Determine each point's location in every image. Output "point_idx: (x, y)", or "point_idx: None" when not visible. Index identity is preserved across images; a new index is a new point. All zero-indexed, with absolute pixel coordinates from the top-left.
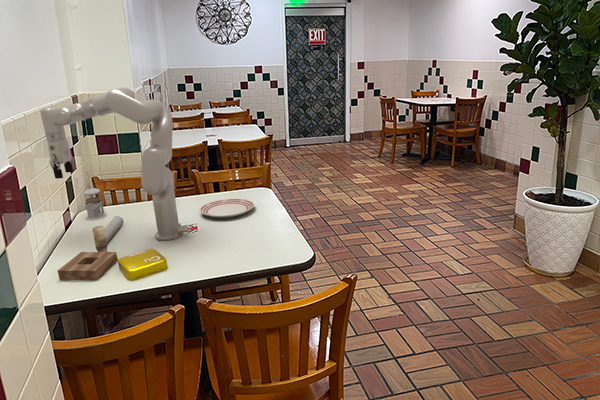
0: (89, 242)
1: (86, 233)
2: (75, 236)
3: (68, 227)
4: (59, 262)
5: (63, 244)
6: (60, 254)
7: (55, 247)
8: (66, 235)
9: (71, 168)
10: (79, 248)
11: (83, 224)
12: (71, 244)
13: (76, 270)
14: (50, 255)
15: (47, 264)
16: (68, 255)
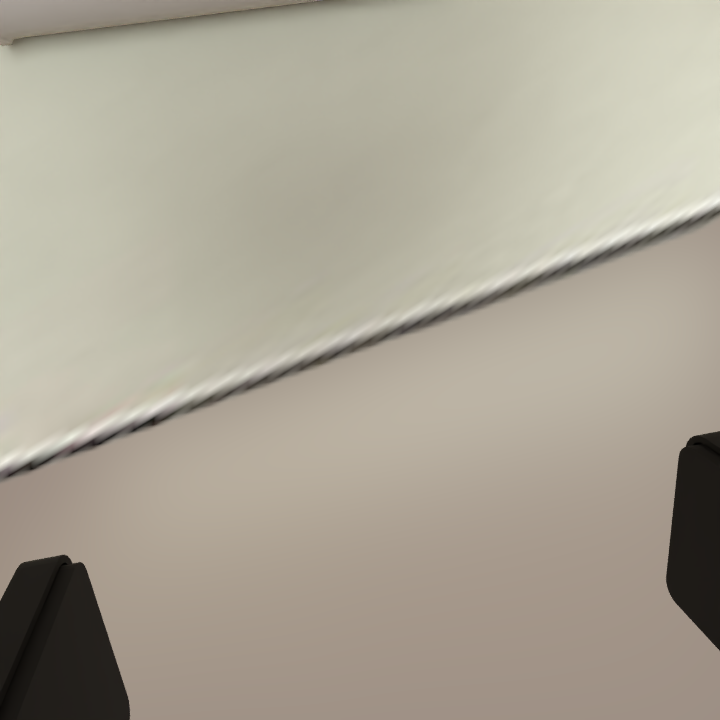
0: (381, 93)
1: (204, 224)
2: (266, 280)
3: (94, 441)
4: (683, 135)
5: (407, 284)
6: (565, 204)
7: (452, 309)
8: (249, 361)
9: (47, 649)
10: (484, 116)
11: (16, 362)
12: (410, 223)
13: None
14: (571, 264)
15: (695, 201)
16: (589, 134)
